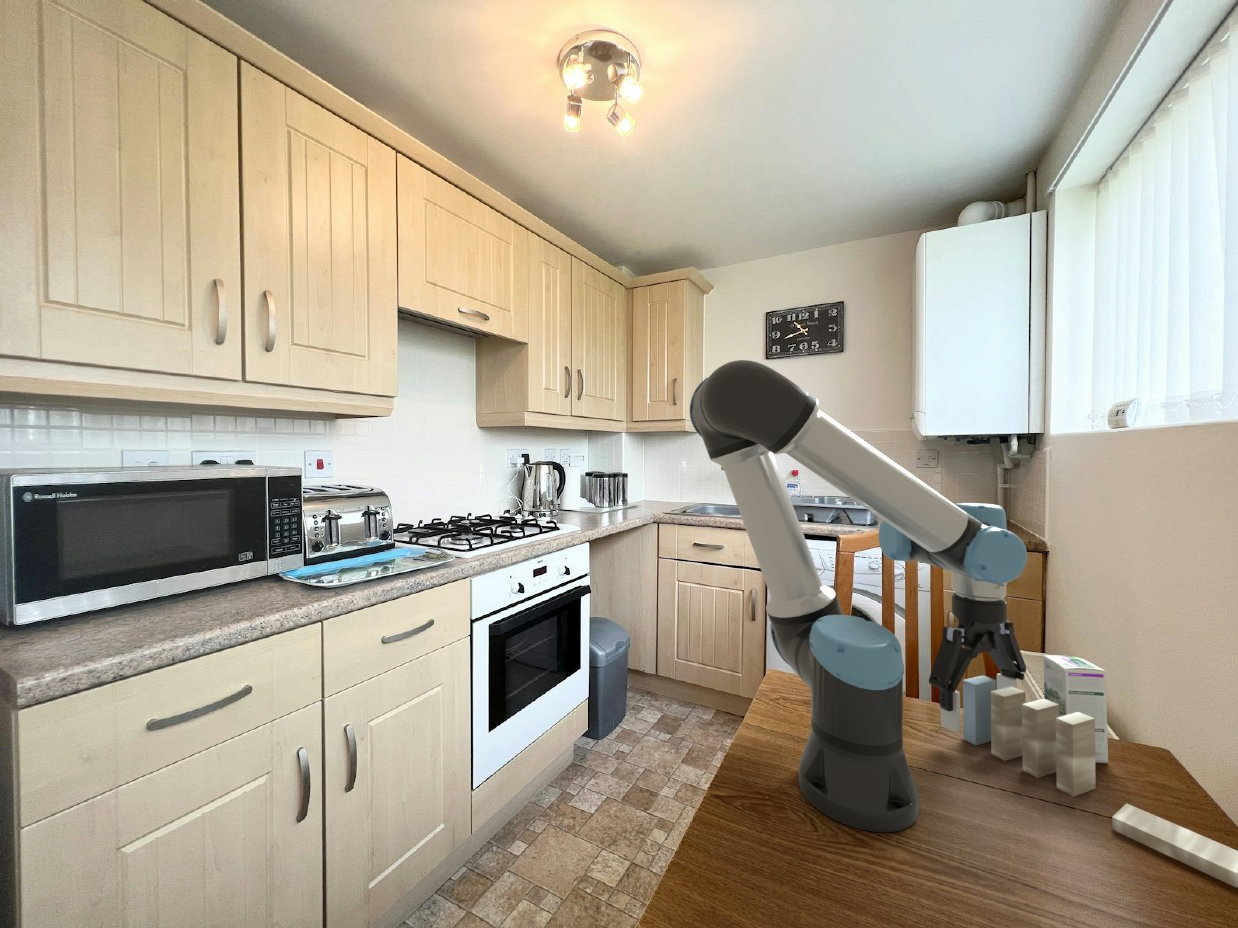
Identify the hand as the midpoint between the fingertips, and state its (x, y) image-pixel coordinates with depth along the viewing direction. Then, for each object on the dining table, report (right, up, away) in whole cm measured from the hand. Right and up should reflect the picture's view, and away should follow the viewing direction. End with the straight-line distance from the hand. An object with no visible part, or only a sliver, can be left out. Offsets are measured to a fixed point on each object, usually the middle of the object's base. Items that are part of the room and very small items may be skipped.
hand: (979, 721), depth 83 cm
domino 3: (+3, -3, -8) cm, 10 cm away
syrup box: (+13, -3, -4) cm, 14 cm away
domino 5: (+4, -2, -19) cm, 20 cm away
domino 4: (+5, -3, -13) cm, 14 cm away
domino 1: (0, -3, 0) cm, 3 cm away
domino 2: (+2, -3, -4) cm, 5 cm away
